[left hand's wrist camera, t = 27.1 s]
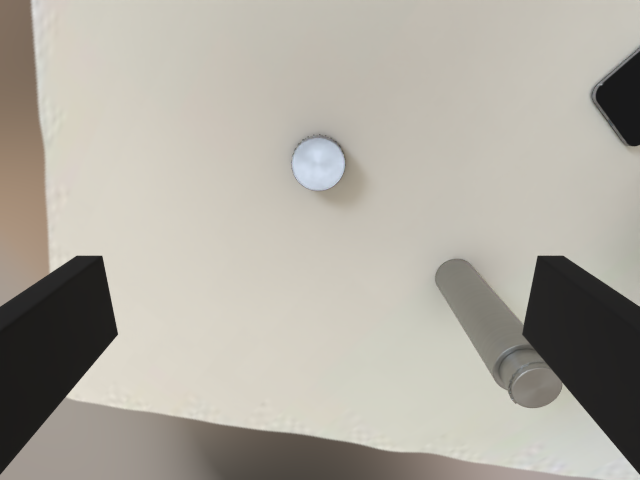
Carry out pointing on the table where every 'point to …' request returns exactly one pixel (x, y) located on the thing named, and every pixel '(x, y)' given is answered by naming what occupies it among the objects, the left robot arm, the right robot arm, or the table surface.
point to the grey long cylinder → (497, 336)
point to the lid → (318, 163)
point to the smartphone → (622, 99)
